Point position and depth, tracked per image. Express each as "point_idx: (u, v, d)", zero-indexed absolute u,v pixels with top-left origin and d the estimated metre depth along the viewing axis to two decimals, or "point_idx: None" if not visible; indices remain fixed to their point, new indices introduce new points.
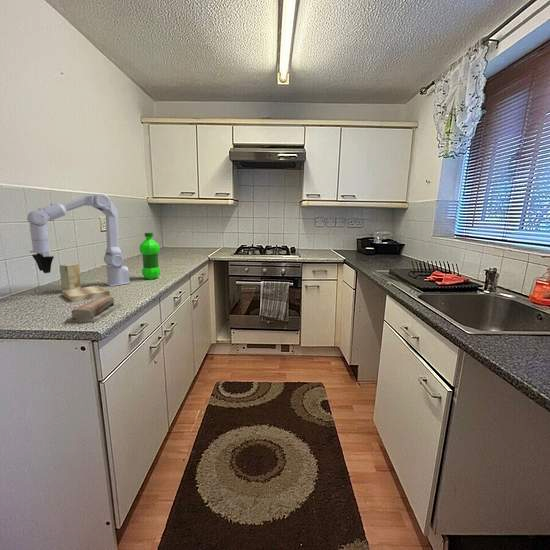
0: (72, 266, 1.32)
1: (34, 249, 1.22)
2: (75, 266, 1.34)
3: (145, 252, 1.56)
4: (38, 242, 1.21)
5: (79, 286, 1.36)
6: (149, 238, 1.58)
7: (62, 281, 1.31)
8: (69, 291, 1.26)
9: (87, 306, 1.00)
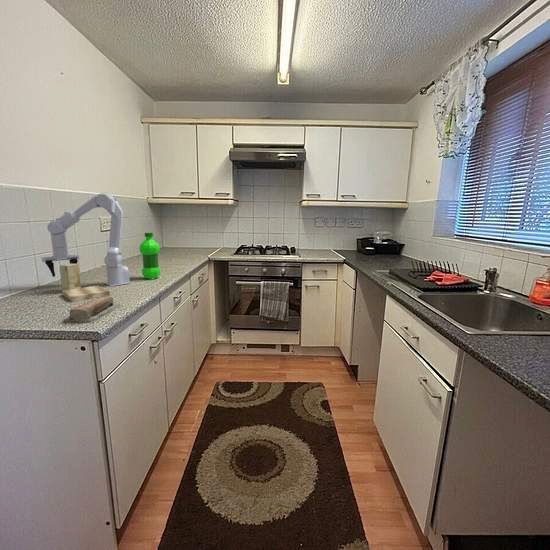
0: (72, 266, 1.32)
1: None
2: (75, 266, 1.34)
3: (145, 252, 1.56)
4: None
5: (79, 286, 1.36)
6: (149, 238, 1.58)
7: (62, 281, 1.31)
8: (69, 291, 1.26)
9: (85, 306, 1.00)
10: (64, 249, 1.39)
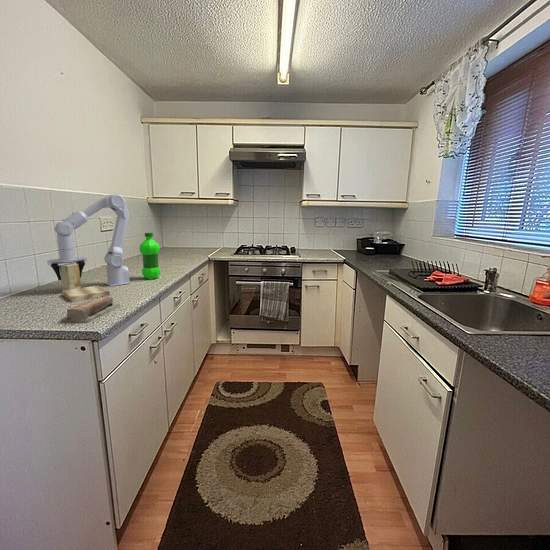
0: (72, 266, 1.32)
1: None
2: (75, 266, 1.33)
3: (145, 252, 1.56)
4: None
5: (79, 286, 1.36)
6: (149, 238, 1.58)
7: (62, 281, 1.31)
8: (69, 291, 1.26)
9: (83, 306, 1.00)
10: (71, 251, 1.31)
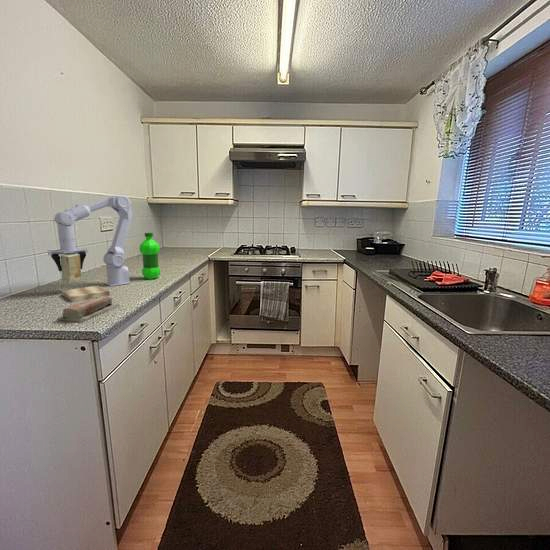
0: (73, 257, 1.29)
1: None
2: (76, 257, 1.31)
3: (145, 252, 1.56)
4: None
5: (79, 276, 1.34)
6: (149, 238, 1.58)
7: (62, 271, 1.29)
8: (69, 291, 1.26)
9: (79, 306, 1.01)
10: (72, 242, 1.29)
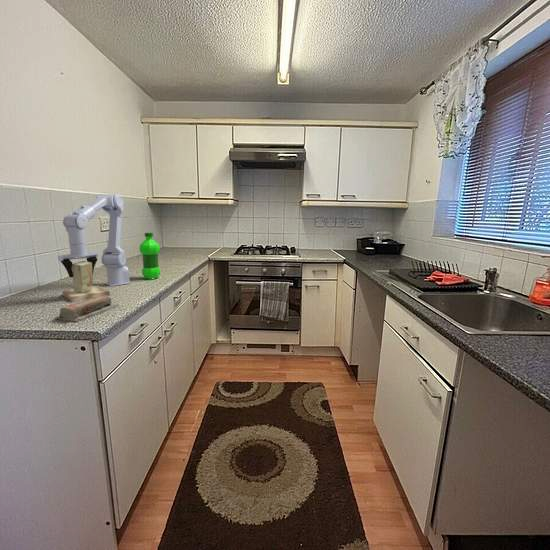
0: (85, 265, 1.23)
1: None
2: (88, 265, 1.24)
3: (145, 252, 1.56)
4: None
5: (91, 285, 1.28)
6: (149, 238, 1.58)
7: (74, 280, 1.23)
8: (69, 291, 1.26)
9: (76, 305, 1.01)
10: (83, 246, 1.22)
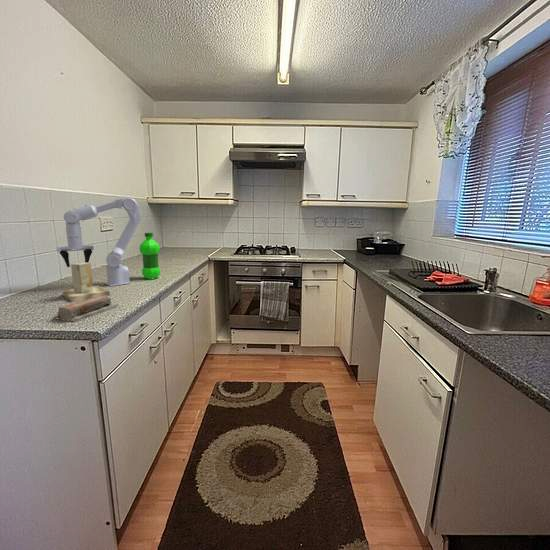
0: (84, 265, 1.24)
1: None
2: (87, 265, 1.26)
3: (145, 252, 1.56)
4: None
5: (91, 286, 1.28)
6: (149, 238, 1.58)
7: (74, 281, 1.23)
8: (69, 291, 1.26)
9: (74, 305, 1.01)
10: (79, 239, 1.37)
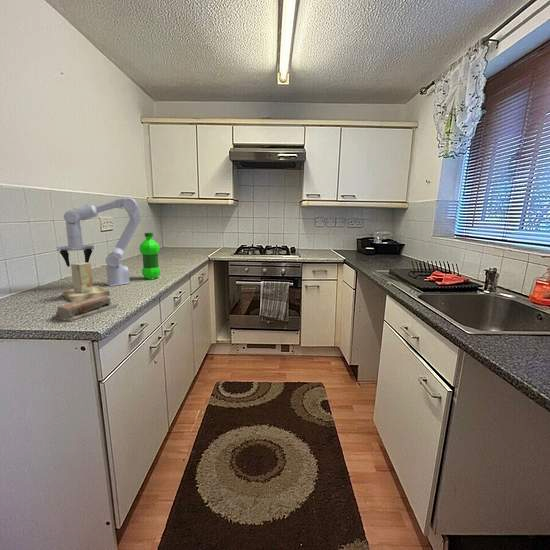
0: (84, 265, 1.24)
1: None
2: (87, 265, 1.26)
3: (145, 252, 1.56)
4: None
5: (91, 286, 1.28)
6: (149, 238, 1.58)
7: (74, 281, 1.23)
8: (69, 291, 1.26)
9: (72, 305, 1.01)
10: (79, 239, 1.37)
